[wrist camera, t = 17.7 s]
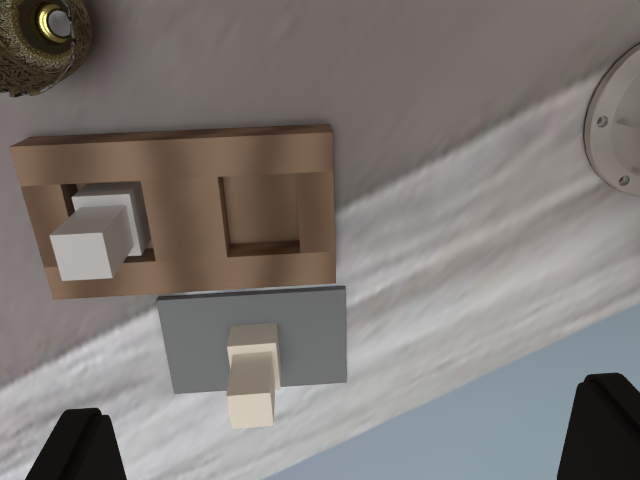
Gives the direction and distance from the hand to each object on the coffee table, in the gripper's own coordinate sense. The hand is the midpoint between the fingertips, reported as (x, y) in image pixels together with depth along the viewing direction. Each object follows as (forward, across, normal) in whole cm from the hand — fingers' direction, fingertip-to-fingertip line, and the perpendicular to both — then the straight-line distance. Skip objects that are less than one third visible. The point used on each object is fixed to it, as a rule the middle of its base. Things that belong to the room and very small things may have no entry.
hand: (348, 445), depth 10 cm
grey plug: (+30, +14, +6) cm, 34 cm away
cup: (+31, +16, -8) cm, 35 cm away
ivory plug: (+30, +5, +19) cm, 36 cm away
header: (+30, +9, +6) cm, 32 cm away
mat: (+30, +5, +18) cm, 36 cm away
